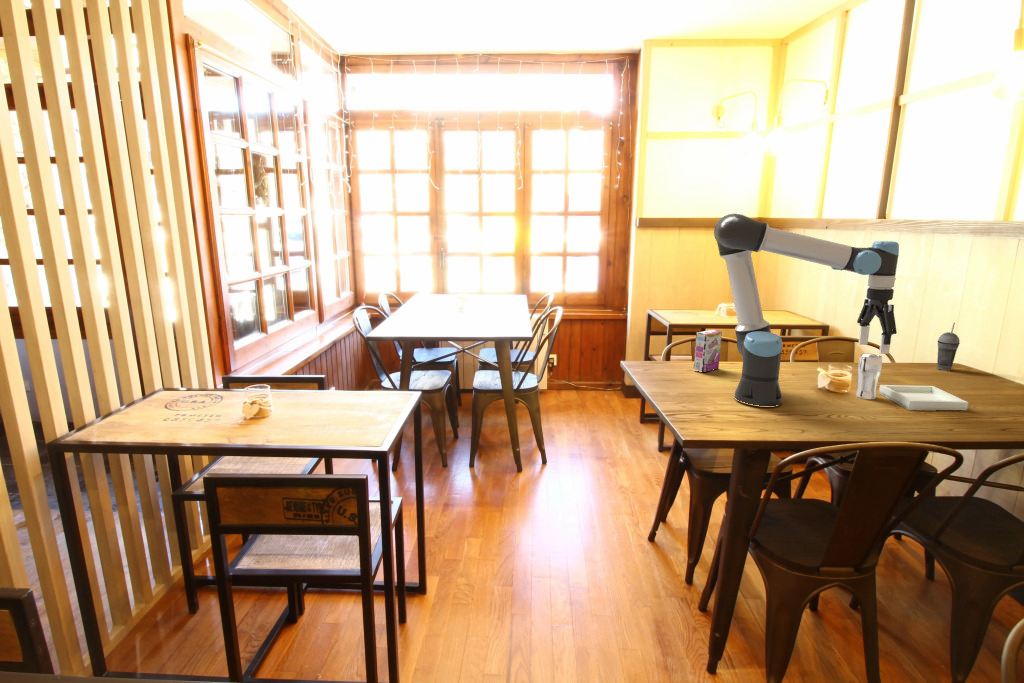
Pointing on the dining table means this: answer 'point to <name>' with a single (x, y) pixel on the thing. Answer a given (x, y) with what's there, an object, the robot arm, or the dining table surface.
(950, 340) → the beverage cup
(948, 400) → the tray
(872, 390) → the beer glass
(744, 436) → the dining table surface
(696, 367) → the candy bar box
